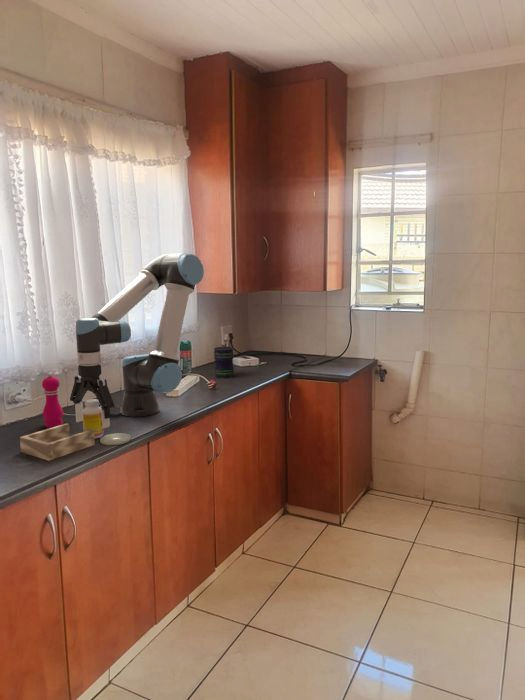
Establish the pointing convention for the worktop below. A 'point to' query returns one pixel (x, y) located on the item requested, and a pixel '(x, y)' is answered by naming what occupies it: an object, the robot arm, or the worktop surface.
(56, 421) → the pepper mill
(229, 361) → the dark blue canister
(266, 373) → the worktop surface
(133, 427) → the worktop surface
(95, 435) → the supplement bottle
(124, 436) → the sage green dome
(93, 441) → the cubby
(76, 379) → the robot arm
